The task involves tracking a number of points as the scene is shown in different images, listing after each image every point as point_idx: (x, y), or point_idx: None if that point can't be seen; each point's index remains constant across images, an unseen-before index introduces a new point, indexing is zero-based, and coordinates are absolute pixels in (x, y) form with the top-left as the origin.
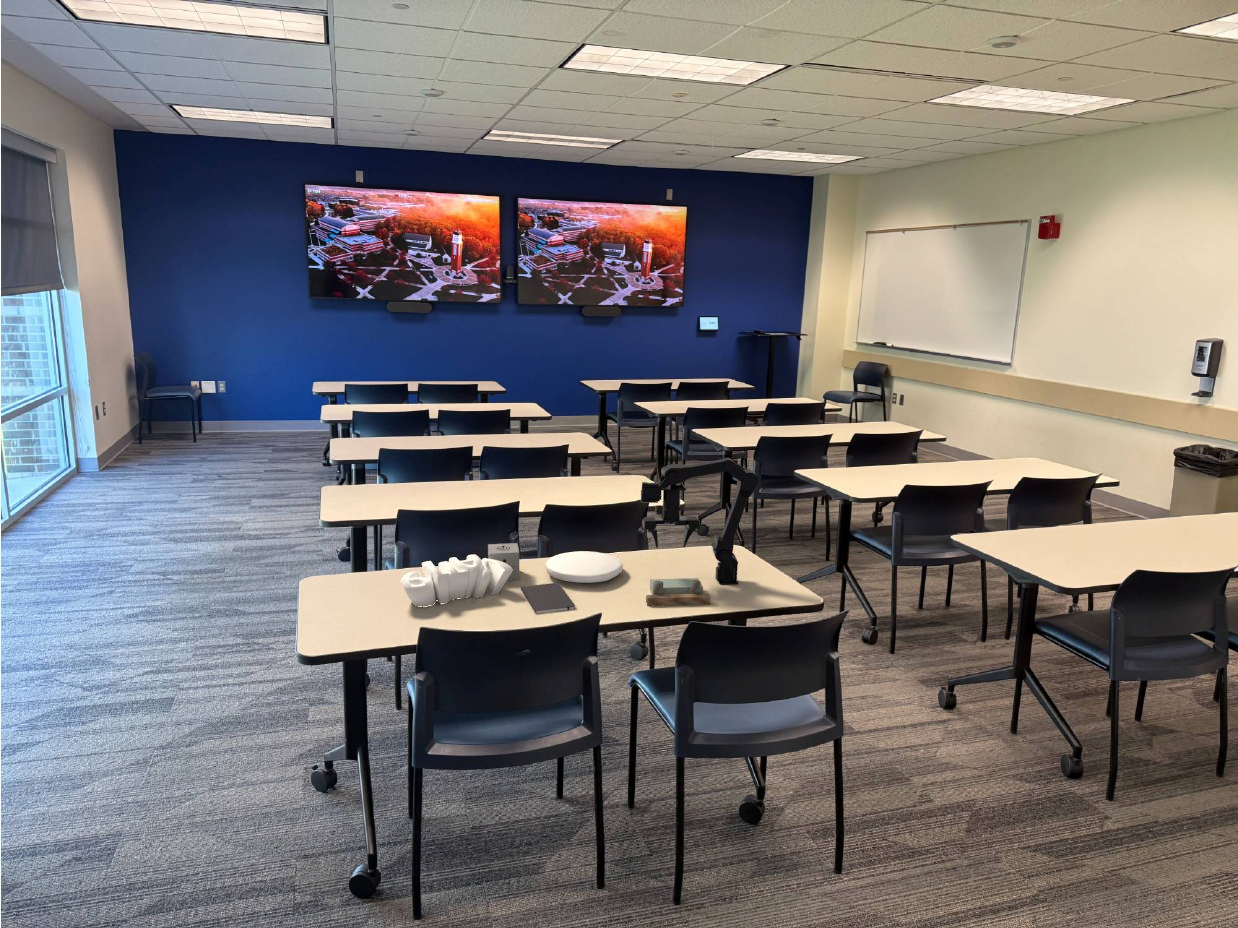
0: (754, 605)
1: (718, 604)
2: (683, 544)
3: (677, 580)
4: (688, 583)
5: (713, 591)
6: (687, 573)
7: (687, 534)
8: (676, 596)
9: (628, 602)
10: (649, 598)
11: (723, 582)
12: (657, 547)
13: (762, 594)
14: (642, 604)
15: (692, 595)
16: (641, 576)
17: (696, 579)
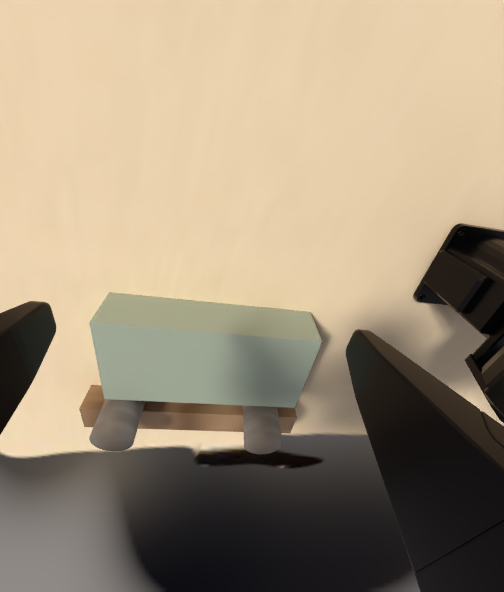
0: None
1: (307, 414)
2: (358, 371)
3: (221, 352)
4: (256, 380)
5: (348, 343)
6: (368, 109)
7: (429, 588)
8: (186, 424)
9: None
10: (92, 426)
11: (433, 297)
12: (50, 339)
13: (469, 379)
14: (79, 394)
15: (240, 423)
16: (57, 90)
17: (307, 352)
